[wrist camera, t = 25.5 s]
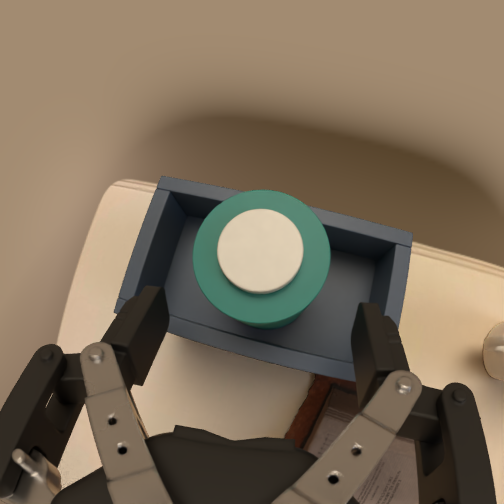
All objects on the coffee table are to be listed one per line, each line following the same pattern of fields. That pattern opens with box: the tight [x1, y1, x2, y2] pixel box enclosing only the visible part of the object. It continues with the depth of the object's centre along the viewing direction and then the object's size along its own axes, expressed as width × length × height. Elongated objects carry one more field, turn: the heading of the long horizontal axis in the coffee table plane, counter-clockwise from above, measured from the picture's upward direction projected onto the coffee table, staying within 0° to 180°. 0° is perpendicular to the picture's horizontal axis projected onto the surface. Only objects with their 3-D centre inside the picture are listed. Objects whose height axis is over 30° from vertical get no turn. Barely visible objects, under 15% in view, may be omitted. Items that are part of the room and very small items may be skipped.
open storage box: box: [114, 176, 413, 382], centre depth 23 cm, size 15×9×12 cm, turn 75°
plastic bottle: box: [192, 190, 331, 330], centre depth 16 cm, size 5×5×9 cm
